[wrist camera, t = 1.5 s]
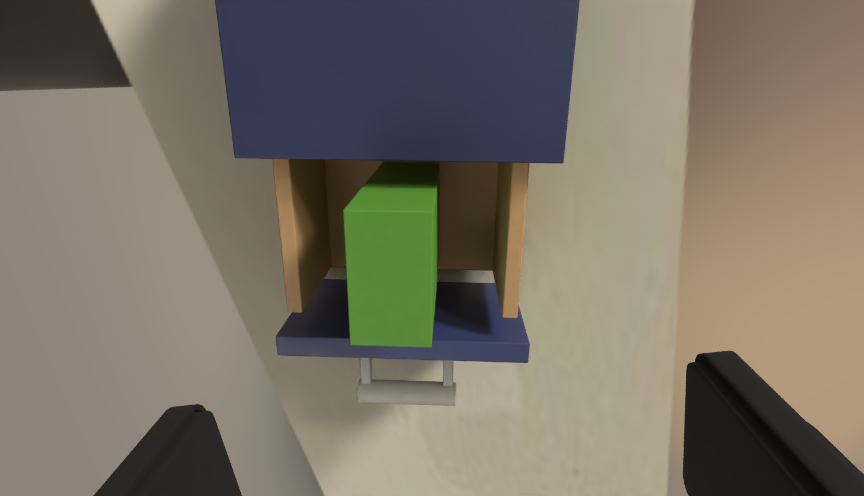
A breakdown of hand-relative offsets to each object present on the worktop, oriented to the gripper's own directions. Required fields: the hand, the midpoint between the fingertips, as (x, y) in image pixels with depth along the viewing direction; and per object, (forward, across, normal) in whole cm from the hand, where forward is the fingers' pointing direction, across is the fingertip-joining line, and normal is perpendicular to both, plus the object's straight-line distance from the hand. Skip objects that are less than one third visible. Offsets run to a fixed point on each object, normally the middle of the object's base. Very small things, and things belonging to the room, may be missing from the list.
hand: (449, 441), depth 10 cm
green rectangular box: (+21, +2, +1) cm, 21 cm away
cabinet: (+23, +1, -11) cm, 26 cm away
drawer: (+22, +3, +3) cm, 23 cm away
